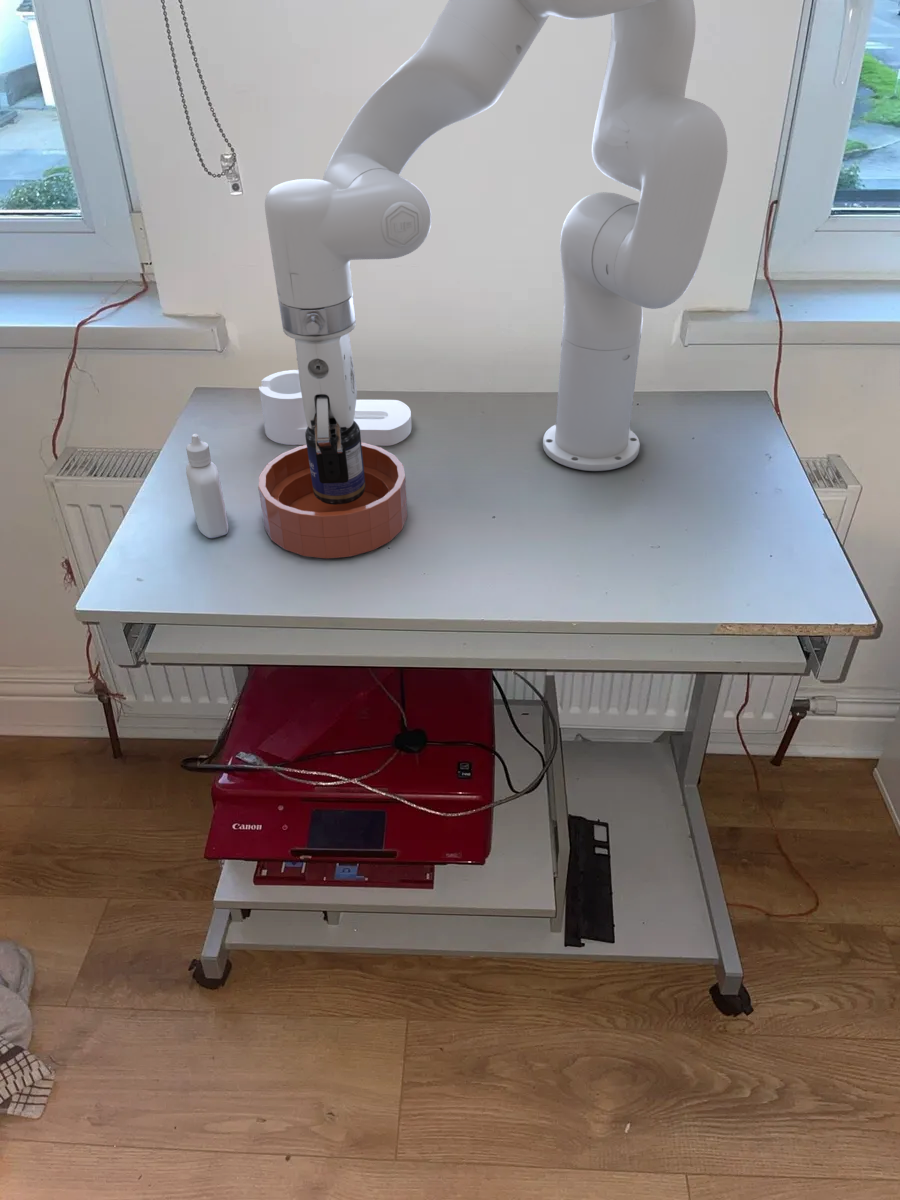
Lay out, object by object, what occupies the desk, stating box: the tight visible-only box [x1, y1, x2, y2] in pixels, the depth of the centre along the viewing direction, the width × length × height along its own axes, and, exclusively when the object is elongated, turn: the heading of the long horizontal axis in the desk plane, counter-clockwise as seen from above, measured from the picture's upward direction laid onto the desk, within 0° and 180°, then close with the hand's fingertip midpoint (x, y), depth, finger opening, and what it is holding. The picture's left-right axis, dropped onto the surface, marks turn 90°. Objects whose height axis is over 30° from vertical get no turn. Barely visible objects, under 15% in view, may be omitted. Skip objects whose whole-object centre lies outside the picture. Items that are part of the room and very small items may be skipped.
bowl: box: [257, 442, 408, 559], centre depth 110 cm, size 17×17×6 cm
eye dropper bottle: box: [185, 433, 230, 539], centre depth 107 cm, size 4×6×12 cm
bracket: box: [258, 369, 412, 447], centre depth 127 cm, size 20×9×7 cm, turn 88°
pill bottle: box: [305, 403, 366, 505], centre depth 106 cm, size 6×6×11 cm
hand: (336, 464), depth 107 cm, fingers closed on pill bottle, 6 cm apart
